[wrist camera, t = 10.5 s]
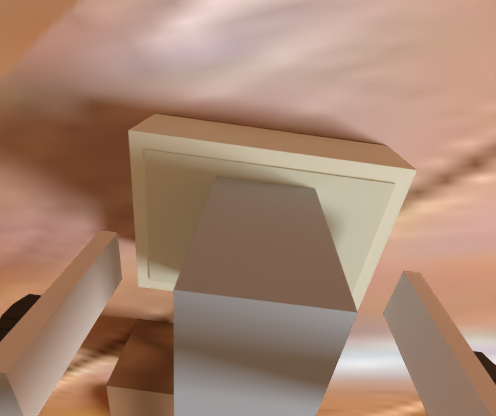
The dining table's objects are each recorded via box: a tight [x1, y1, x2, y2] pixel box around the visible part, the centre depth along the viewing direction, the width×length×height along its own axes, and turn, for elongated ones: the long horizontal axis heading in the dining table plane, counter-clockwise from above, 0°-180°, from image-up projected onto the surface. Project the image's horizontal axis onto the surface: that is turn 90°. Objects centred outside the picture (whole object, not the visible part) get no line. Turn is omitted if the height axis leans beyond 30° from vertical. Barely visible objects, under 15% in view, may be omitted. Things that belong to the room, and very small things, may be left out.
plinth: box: [128, 114, 417, 311], centre depth 19 cm, size 14×10×4 cm
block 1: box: [106, 319, 174, 416], centre depth 25 cm, size 6×6×6 cm
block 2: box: [173, 176, 358, 416], centre depth 13 cm, size 5×7×8 cm
